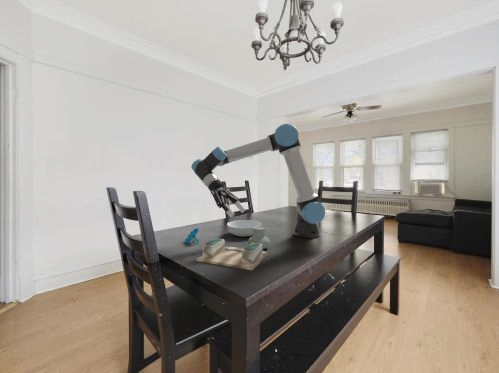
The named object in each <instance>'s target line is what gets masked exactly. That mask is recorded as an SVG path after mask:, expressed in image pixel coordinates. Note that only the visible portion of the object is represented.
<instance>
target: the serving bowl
mask: <svg viewBox="0 0 499 373" xmlns="http://www.w3.org/2000/svg"><path fill="white" fill-rule="evenodd" d="M226 227H227V230H228V231H229V233H231V234H232V235H234V236H236V237H243V238H245V237H252V236H253V228H255V227H262V223H261V222H260V221H257V220H252V219H251V220H250V219H241V220H233V221H229V222H227V224H226Z"/></svg>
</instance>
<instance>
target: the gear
mask: <svg viewBox="0 0 499 373" xmlns="http://www.w3.org/2000/svg"><path fill="white" fill-rule="evenodd" d="M199 229H200V228H198V227H195V228H193V230H192V231H190V232H189V233H190V234H187V237H186V238H185V240H184V243H185V244H186V243H187V244H190V242H191V243H195V244H196V245H198V244H199V241H200V240H199V239H198V238H197V237H196V236H197V234H198V233H199Z"/></svg>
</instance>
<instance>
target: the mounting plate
mask: <svg viewBox="0 0 499 373" xmlns="http://www.w3.org/2000/svg"><path fill="white" fill-rule="evenodd" d="M201 248H202V255H200V256H199V257H196V258H195V261H196V262H199V263H206V264H210V265H211V264H212V265H218V266H222V267H223V266H224V267H231V268H234V269H241V270H248V271H253V270H254V269H255V268H256V267H257V266H258V265H260V263H261V262H262V261H263V260H264V259H265V258H266V257H267V256H268V251H265V250H263V249H262V244H258V243H251V244H250V245H249V244H248V245H246V247H244V248H242V247H236V246H235V247H234V246H228V245H227V246H226V243H225V239H223V238H216V237H215V238H213V239H211V240H208V241H207V242H205V243H204V244H202V247H201Z"/></svg>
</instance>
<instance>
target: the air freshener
mask: <svg viewBox="0 0 499 373" xmlns="http://www.w3.org/2000/svg"><path fill="white" fill-rule="evenodd" d="M251 243H258V244H262V250H264V249H265V250H266V248H268V247H269V246H270V244H271V240H270V238H269V237H267V236H266V229H265V227H264V226H261V227H255V228H253V235H252V236H249V239H248V240H247V244H248V245H250V244H251Z"/></svg>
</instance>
